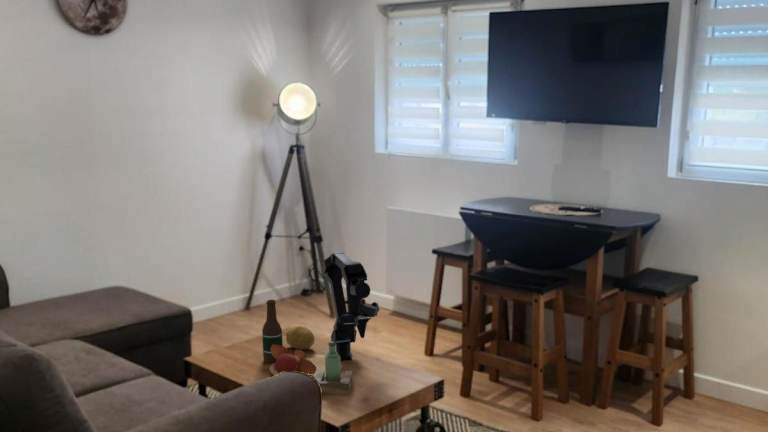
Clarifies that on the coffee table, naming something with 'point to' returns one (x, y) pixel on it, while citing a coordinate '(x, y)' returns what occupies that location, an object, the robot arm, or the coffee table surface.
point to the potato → (300, 338)
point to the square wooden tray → (335, 384)
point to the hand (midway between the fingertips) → (357, 340)
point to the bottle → (332, 363)
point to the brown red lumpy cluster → (291, 360)
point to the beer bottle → (271, 332)
